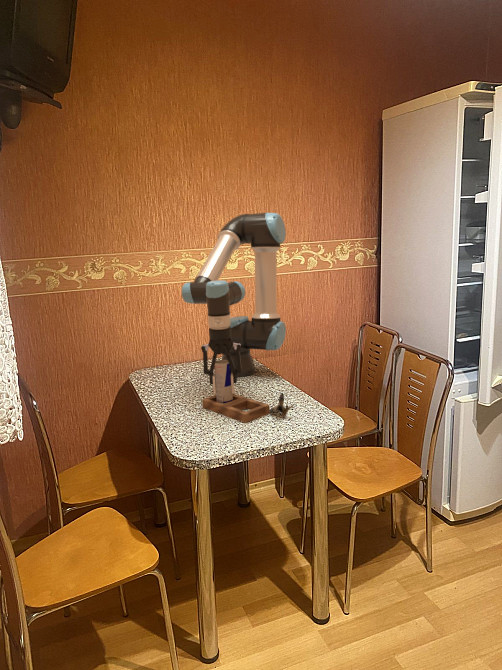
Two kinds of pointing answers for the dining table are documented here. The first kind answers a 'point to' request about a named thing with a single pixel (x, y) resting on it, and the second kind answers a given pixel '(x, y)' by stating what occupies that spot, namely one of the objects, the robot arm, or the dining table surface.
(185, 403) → the dining table surface
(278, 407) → the eagle figurine
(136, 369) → the dining table surface
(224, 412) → the walnut holder board
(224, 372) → the beverage can
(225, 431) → the dining table surface
